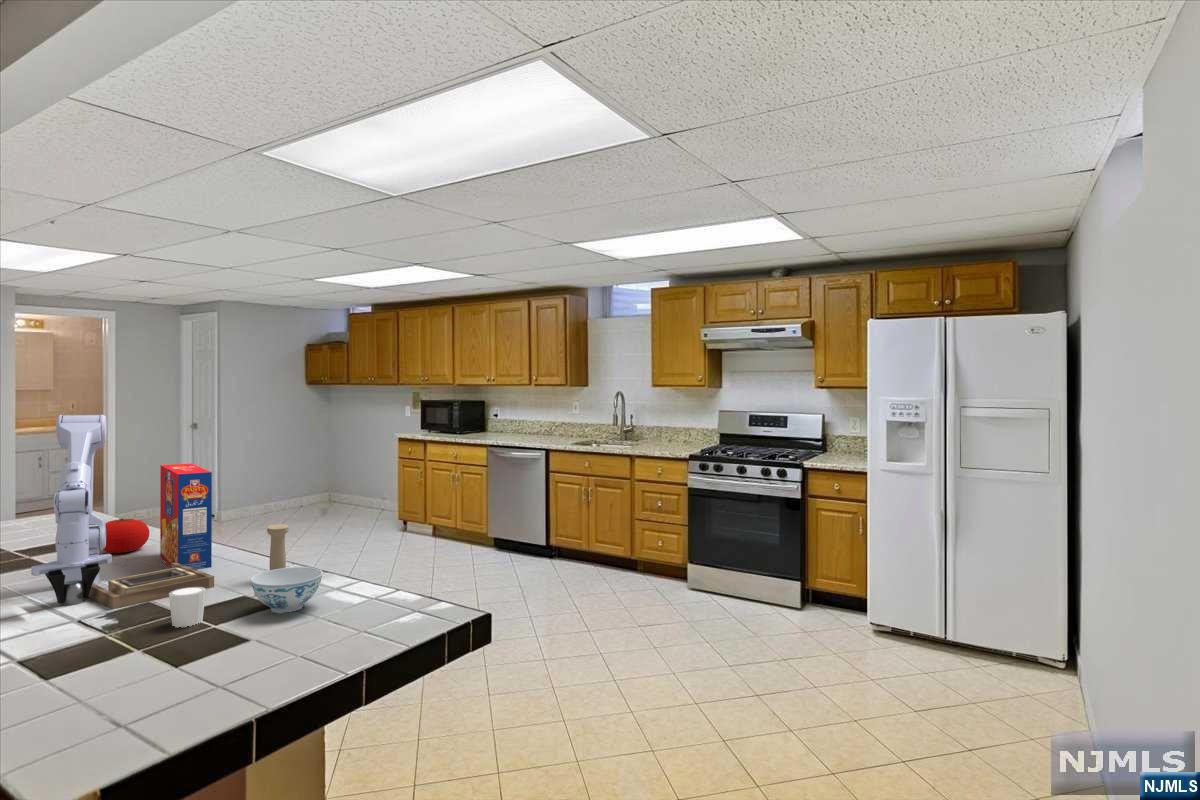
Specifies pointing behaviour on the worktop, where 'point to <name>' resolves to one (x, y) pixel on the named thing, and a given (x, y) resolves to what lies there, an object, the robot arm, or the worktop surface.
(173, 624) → the white cylinder
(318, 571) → the chinaware
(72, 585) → the peg
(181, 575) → the crate
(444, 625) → the worktop surface
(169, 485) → the pasta box
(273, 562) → the handle
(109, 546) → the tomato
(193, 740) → the worktop surface
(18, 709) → the worktop surface
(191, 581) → the bay
